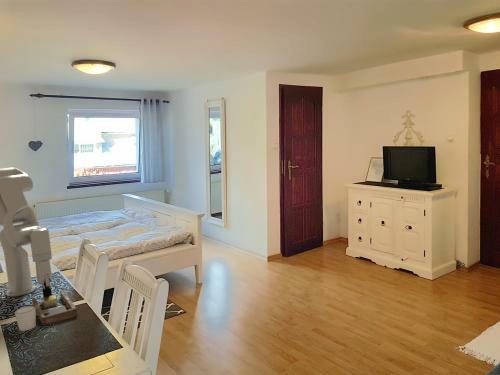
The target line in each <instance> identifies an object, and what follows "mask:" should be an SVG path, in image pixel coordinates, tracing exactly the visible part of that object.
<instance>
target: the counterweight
mask: <svg viewBox="0 0 500 375" xmlns="http://www.w3.org/2000/svg"><path fill="white" fill-rule="evenodd" d="M65 310H67V308H66V307H65V305H62V306H58V307H54V308H50V309H48V310H47V313H48V314H47V315H51V314H55V313H58V312H62V311H65Z"/></svg>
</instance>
